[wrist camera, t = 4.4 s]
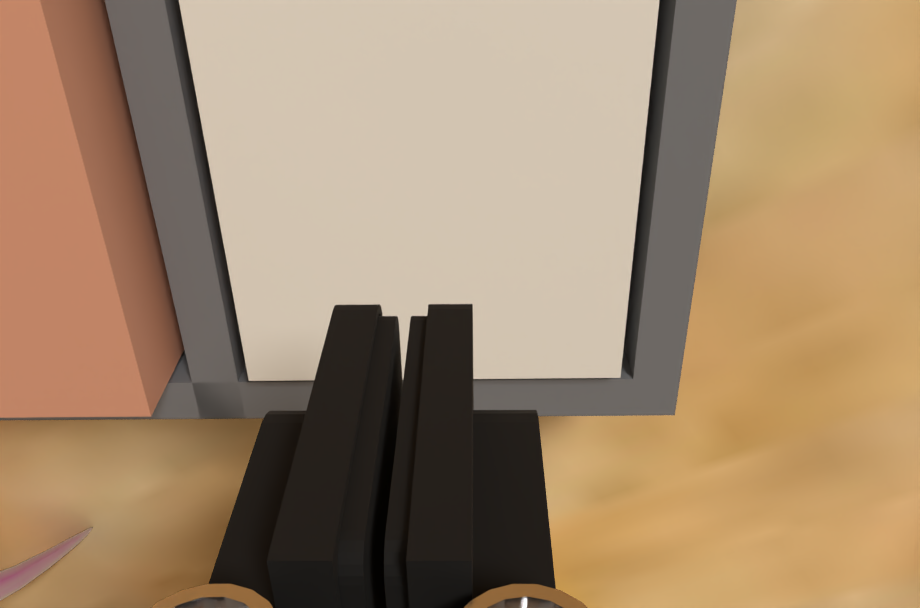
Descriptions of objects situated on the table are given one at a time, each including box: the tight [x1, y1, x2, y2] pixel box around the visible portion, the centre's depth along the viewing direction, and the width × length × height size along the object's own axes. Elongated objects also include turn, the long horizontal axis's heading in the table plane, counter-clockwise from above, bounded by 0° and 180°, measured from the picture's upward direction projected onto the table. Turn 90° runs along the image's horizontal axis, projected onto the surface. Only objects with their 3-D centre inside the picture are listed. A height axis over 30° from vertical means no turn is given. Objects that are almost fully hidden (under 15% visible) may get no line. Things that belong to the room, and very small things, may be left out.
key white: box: [179, 0, 659, 381], centre depth 17 cm, size 8×8×2 cm
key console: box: [0, 0, 737, 420], centre depth 18 cm, size 11×20×4 cm, turn 91°
